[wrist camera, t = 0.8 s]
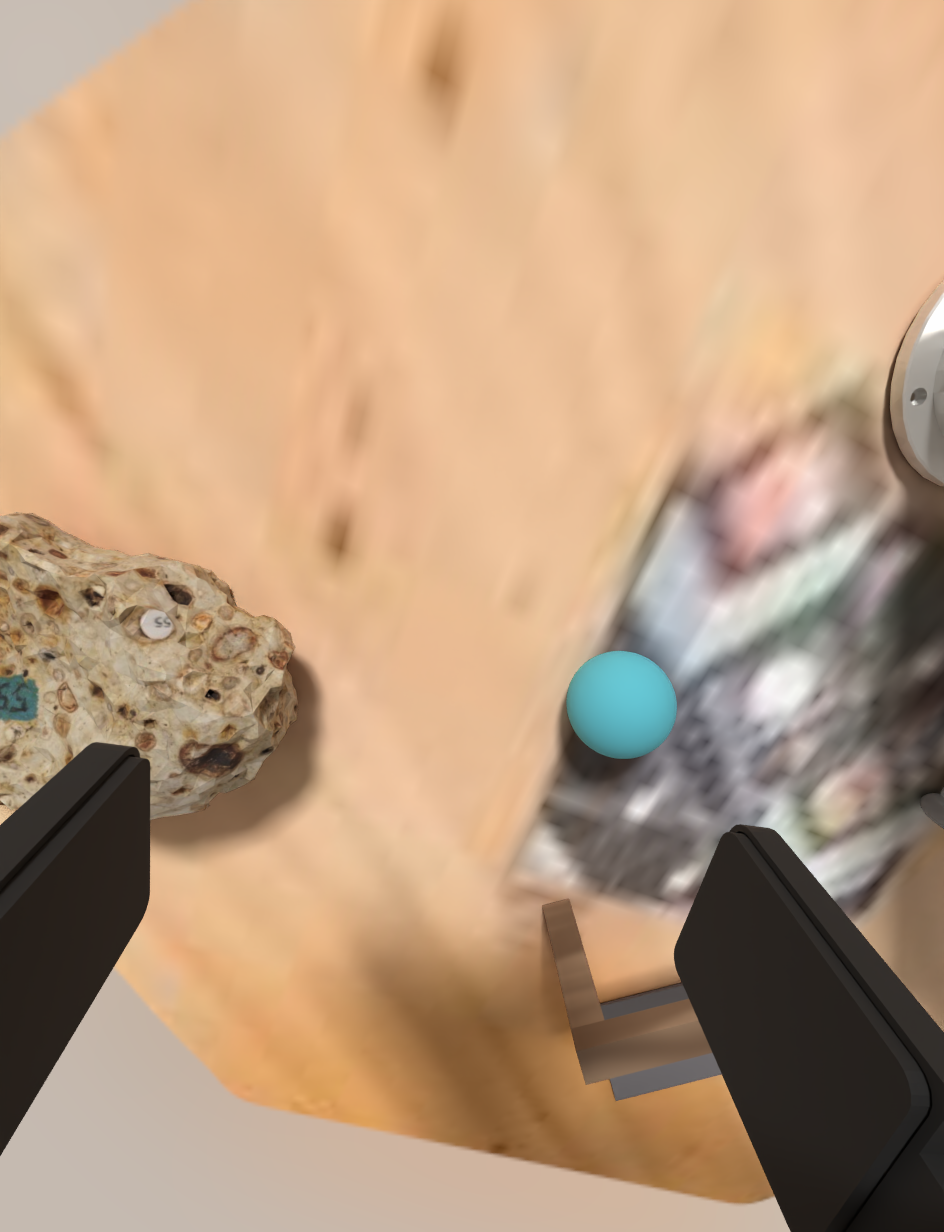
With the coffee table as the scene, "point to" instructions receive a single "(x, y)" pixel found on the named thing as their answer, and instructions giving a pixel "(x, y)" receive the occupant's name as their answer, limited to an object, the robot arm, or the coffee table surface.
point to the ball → (621, 704)
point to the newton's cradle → (934, 806)
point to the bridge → (621, 1038)
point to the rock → (132, 668)
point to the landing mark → (665, 1073)
